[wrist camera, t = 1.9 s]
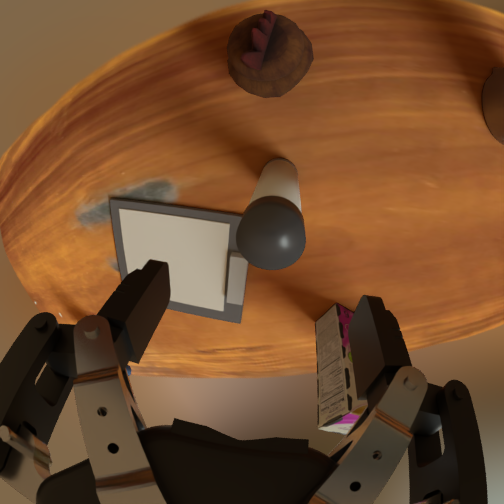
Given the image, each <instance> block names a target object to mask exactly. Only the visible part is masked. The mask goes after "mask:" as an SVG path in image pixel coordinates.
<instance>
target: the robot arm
mask: <svg viewBox="0 0 504 504" xmlns="http://www.w3.org/2000/svg"><path fill="white" fill-rule="evenodd" d="M482 106H483V112H484V116H485V120H486V123H487V125H488V128H489V130H490V131H491V133H492V135H493V136H494V137H495V138H496V140H498V141H499V142H500V143H502V144H504V67H494V68H493V73H492V75H491V76H490V77H489V78H488V79H487V81H486V82H485V85H484V88H483V94H482ZM170 296H171V288H170V276H169V265H168V263H167V262H163V261H158V260H153V259H150V260H148V261H147V263H146V264H145V265H144V267H143V268H142V269H136V270H134V271H132V272H131V273H129V274H128V275H127V276H126V277H125V278H124V279H123V281H122V282H121V284H119V286H118V287H117V288H116V291H114V292H113V294H112V295H111V296H110V297H109V299H108V300H107V301H106V303H105V304H104V306H103V307H102V308H101V310H100V311H99V312H98V314H97V315H90V316H86V317H84V318H82V319H81V320H79V321H78V322H77V324H76V325H71V324H58V322H57V320H56V318H55V316H54V315H53V314H51V313H48V312H43V313H39V314H37V315H35V316H34V317H33V318H32V319H31V320H30V321H29V322H28V323H27V325H26V326H25V328H24V329H23V330H22V332H21V333H20V335H19V336H18V337H17V339H16V340H15V342H14V343H13V345H12V346H11V348H10V349H9V351H8V352H7V354H6V355H5V357H4V358H3V360H2V362H1V363H0V478H2V479H3V480H4V481H5V482H7V483H8V484H9V485H10V486H12V487H13V488H14V489H15V490H17V491H18V492H19V493H21V494H22V495H23V496H25V497H26V498H27V499H29V500H30V501H32V502H33V503H35V504H373V503H374V501H375V500H376V498H377V497H378V496H379V494H380V493H381V491H382V490H383V488H384V487H385V485H386V484H387V482H388V480H389V479H390V477H391V475H392V474H393V472H394V471H395V469H396V467H397V465H398V464H399V462H400V460H401V458H402V457H403V455H404V453H405V451H406V449H407V447H408V455H409V479H410V504H488V500H487V482H486V472H485V464H484V457H483V450H482V444H481V439H480V434H479V429H478V424H477V420H476V416H475V411H474V408H473V404H472V400H471V396H470V393H469V391H468V389H467V387H466V386H465V385H464V384H463V383H462V382H460V381H458V380H451V381H449V382H448V383H447V384H446V385H445V386H444V387H440V386H437V385H433V384H430V383H427V379H426V377H425V375H424V374H423V373H422V372H421V371H420V370H419V369H417V368H415V367H412V364H411V361H410V357H409V354H408V351H407V348H406V345H405V342H404V339H403V336H402V333H401V331H400V327H399V324H398V322H397V319H396V318H395V317H394V315H393V314H392V313H391V312H390V310H386V309H385V306H384V304H383V301H382V299H381V297H375V296H368V295H363V296H362V297H361V299H360V301H359V304H358V306H357V308H356V310H355V312H354V314H353V317H352V319H351V321H350V324H349V328H348V337H349V343H350V350H351V356H352V363H353V370H354V377H355V385H356V393H357V400H367V403H368V406H367V407H366V408H365V409H364V411H363V412H362V414H361V415H360V416H359V418H358V419H357V421H356V422H355V423H354V425H353V426H352V427H351V429H350V430H349V431H348V433H347V434H346V435H345V437H344V438H343V439H342V440H341V442H340V443H339V444H338V445H337V446H336V447H335V448H334V449H333V450H332V451H331V452H330V453H329V454H328V455H325V454H323V453H322V452H320V451H318V450H315V449H313V448H309V447H308V441H309V440H306V439H290V438H277V437H275V438H266V439H256V440H243V441H242V440H237V439H235V438H232V437H230V436H227V435H225V434H222V433H220V432H218V431H216V430H214V429H212V428H209V427H207V426H203V425H199V424H195V423H191V422H187V421H183V420H179V419H176V418H174V421H173V424H172V425H161V426H154V427H150V428H147V427H146V424H145V422H144V419H143V417H142V415H141V413H140V410H139V408H138V405H137V402H136V400H135V396H134V393H133V390H132V387H131V383H130V380H129V377H128V373H127V370H126V366H127V364H128V362H129V361H132V362H135V363H138V364H139V361H140V359H141V357H142V355H143V353H144V351H145V349H146V347H147V345H148V343H149V341H150V339H151V337H152V335H153V333H154V331H155V330H156V328H157V326H158V324H159V322H160V320H161V318H162V316H163V314H164V312H165V310H166V308H167V306H168V304H169V301H170ZM45 362H46V364H47V365H46V367H45V368H44V370H43V372H42V374H41V376H40V378H39V379H38V381H37V383H36V385H35V380H36V377H37V376H38V374H39V373H40V371H41V369H42V367H43V365H44V364H45ZM72 387H74V393H75V400H76V405H77V411H78V416H79V420H80V425H81V430H82V434H83V438H84V442H85V446H86V449H87V453H88V457H89V458H88V459H86V460H84V461H82V462H80V463H78V464H76V465H73V466H71V467H69V468H67V469H64V470H62V471H60V472H58V473H55V474H53V475H51V474H50V470H49V467H51V465H52V459H51V457H50V451H49V449H48V447H47V444H48V442H49V439H50V437H51V434H52V432H53V429H54V427H55V425H56V422H57V420H58V418H59V415H60V413H61V411H62V409H63V407H64V404H65V402H66V400H67V398H68V396H69V394H70V392H71V389H72ZM441 428H442V431H443V438H444V445H445V449H444V453H443V455H442V452H441V444H440V437H439V429H441Z"/></svg>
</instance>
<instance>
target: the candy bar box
mask: <svg viewBox="0 0 504 504" xmlns="http://www.w3.org/2000/svg"><path fill="white" fill-rule="evenodd" d="M353 314H354V313H353V312H352V311H350V310H348V309H346V308H345V307H343V306H341V305H339V304H338V303H336V304H334V305H333V306H332V307H331V308H330V309H329V310H328V311H327V312H326V313H325V314H324V315H323V316H322V317H321V318H319V319H318V320H317V321H316V322H315V332H316V352H317V383H318V429H321V430H325V431H329V432H334V433H339V434H344V435H346V434H347V433H348V431H349V430H350V429H351V427H352V426H353V425H354V423H355V422H356V421H357V419H358V418H359V416H360V415H361V414H362V412H363V411H364V409H365V408H366V407H367V406H368V403H367V400H357V393H356V385H355V377H354V370H353V363H352V356H351V350H350V343H349V337H348V328H349V324H350V321H351V319H352V317H353Z"/></svg>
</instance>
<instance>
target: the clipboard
mask: <svg viewBox="0 0 504 504" xmlns="http://www.w3.org/2000/svg"><path fill="white" fill-rule="evenodd" d="M110 207H111V216H112V224H113V232H114V238H115V245H116V251H117V257H118V263H119V268H120V273H121V278H122V281H123V279H124V278H125V277H126V276H127V275H128V274H129V273H131V272H132V271H134V270H136V269H142V268H143V267H144V265H145V264H146V263H147V261H148V260H150V259H153V260H158V261H163V262H167V263H168V265H169V276H170V288H171V296H170V301H169V304H168V306H167V309H171V310H176V311H180V312H184V313H189V314H194V315H198V316H203V317H208V318H213V319H218V320H223V321H228V322H234V323H239V324H240V323H241V318H242V310H243V302H244V294H245V286H246V279H247V271H248V263H249V262H248V261H247V260H246V259H245V258H244V257H243V256H242V255H241V253H240V252H239V250H238V247H237V244H236V232H237V228H238V226H239V223H240V221H241V218H242V216H243V215H241V214H235V213H228V212H221V211H214V210H207V209H200V208H193V207H185V206H178V205H170V204H162V203H153V202H145V201H136V200H127V199H118V198H111V199H110Z"/></svg>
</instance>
